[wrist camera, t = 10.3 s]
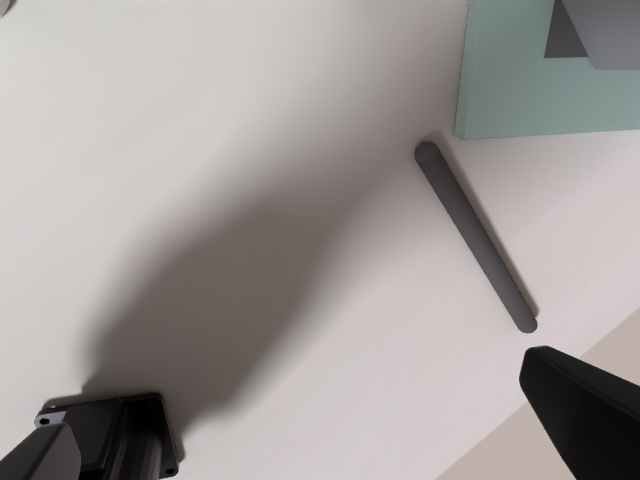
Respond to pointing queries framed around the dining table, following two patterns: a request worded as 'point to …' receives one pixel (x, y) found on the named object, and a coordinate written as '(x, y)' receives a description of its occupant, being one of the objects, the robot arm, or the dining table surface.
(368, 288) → the dining table surface
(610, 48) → the light grey rectangular block
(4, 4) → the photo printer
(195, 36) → the dining table surface
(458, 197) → the dark grey bar
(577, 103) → the teal flat square slab
